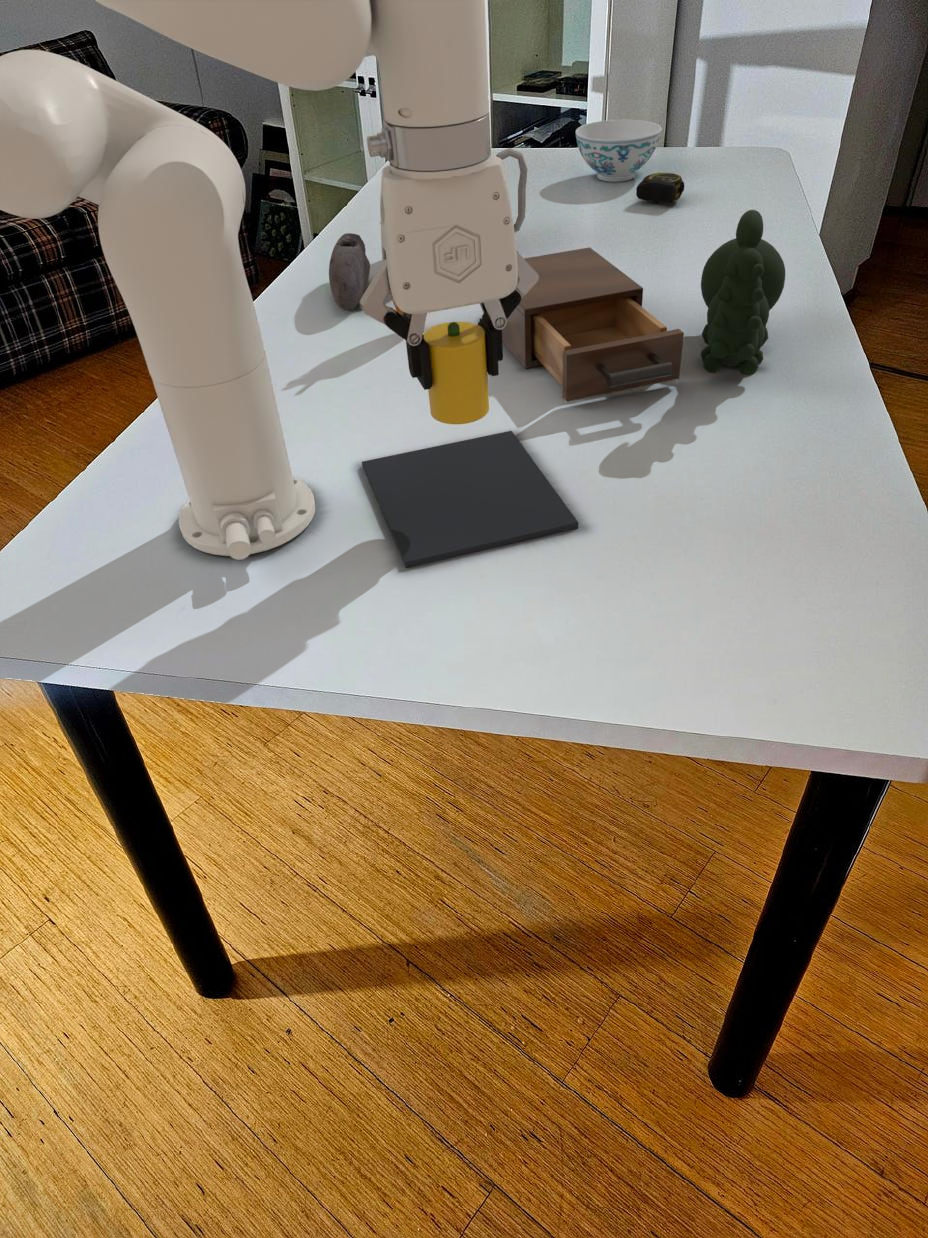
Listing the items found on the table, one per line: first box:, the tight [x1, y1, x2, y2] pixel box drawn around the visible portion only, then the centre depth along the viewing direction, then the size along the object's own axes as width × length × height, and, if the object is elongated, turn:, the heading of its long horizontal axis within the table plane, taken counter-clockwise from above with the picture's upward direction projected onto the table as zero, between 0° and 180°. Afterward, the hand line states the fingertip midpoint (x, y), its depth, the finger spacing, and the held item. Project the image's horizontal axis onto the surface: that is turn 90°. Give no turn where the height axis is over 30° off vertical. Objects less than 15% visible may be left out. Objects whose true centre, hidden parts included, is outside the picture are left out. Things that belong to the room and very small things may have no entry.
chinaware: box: [575, 119, 662, 183], centre depth 159 cm, size 15×15×8 cm
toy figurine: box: [699, 209, 786, 376], centre depth 99 cm, size 9×19×25 cm
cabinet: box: [502, 246, 644, 369], centre depth 109 cm, size 16×15×7 cm
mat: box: [361, 430, 579, 568], centre depth 84 cm, size 18×16×1 cm
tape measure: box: [635, 172, 685, 205], centre depth 148 cm, size 7×7×4 cm
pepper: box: [423, 321, 490, 425], centre depth 76 cm, size 5×5×8 cm
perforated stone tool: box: [328, 232, 371, 312], centre depth 122 cm, size 15×5×7 cm, turn 178°
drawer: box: [531, 297, 685, 402], centre depth 99 cm, size 19×13×5 cm
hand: (456, 374), depth 76 cm, fingers closed on pepper, 5 cm apart
